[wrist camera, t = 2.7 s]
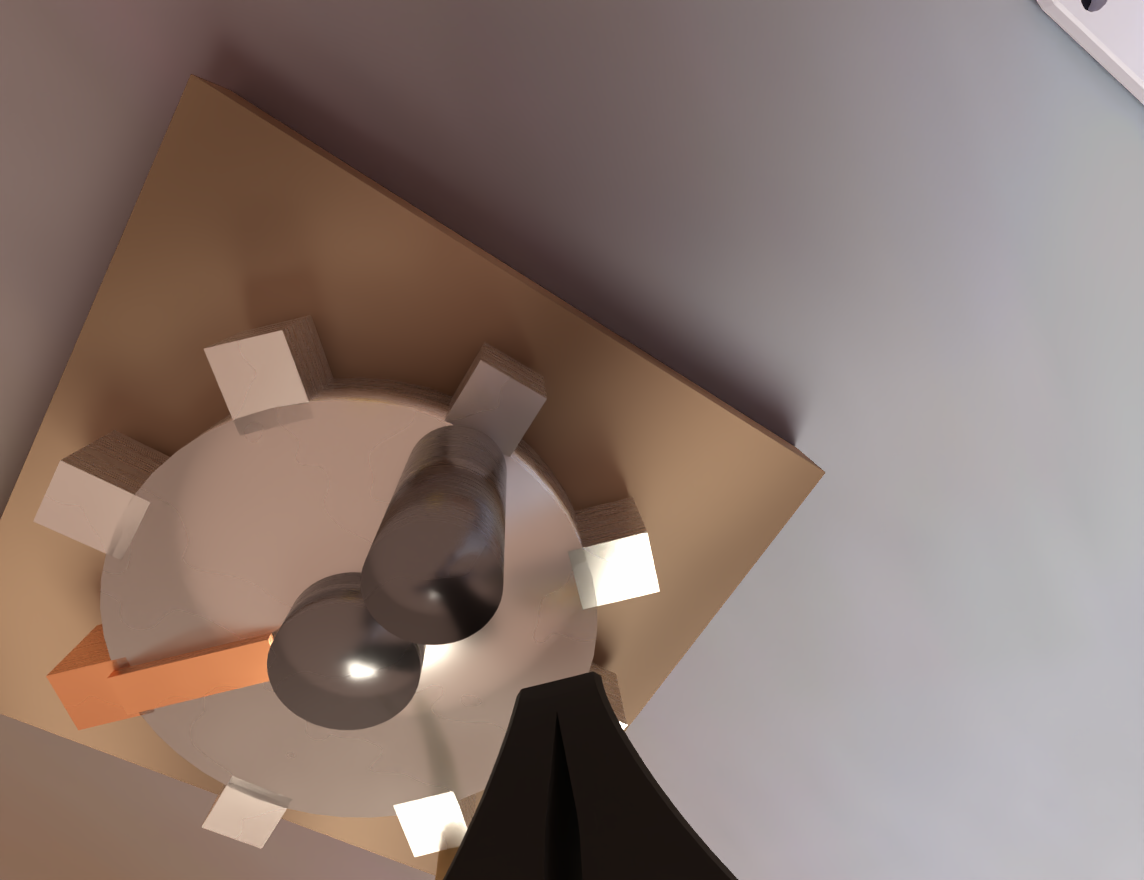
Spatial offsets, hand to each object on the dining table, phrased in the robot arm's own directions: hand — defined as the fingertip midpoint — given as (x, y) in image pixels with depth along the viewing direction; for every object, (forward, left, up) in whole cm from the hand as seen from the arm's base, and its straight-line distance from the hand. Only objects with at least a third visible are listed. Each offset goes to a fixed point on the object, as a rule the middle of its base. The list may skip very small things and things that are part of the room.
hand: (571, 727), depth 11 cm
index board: (+4, +1, -5) cm, 6 cm away
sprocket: (+4, +1, -3) cm, 5 cm away
